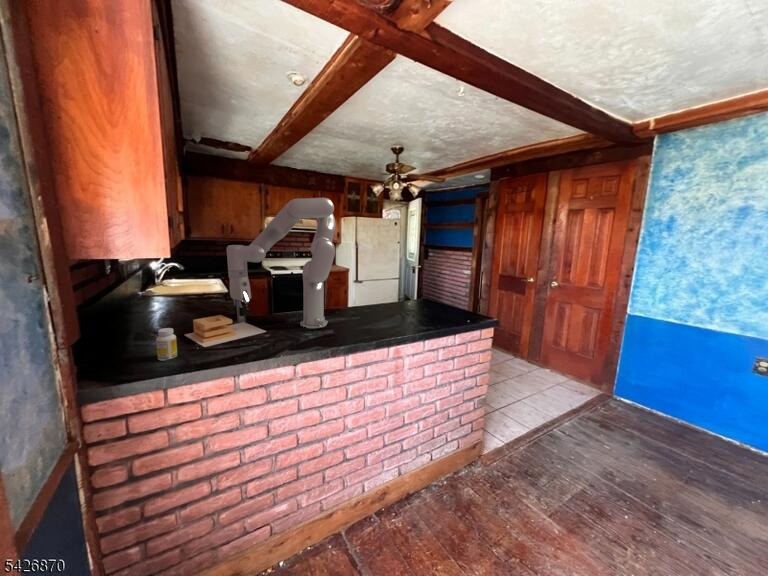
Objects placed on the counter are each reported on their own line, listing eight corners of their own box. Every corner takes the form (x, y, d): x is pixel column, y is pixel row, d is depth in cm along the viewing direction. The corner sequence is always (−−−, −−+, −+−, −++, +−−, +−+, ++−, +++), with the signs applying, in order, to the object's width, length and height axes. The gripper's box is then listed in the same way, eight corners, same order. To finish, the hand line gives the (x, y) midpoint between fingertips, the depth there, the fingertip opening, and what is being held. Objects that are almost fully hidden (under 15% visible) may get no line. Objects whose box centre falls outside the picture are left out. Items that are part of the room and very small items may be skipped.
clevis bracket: (236, 335, 131) (235, 319, 130) (203, 343, 121) (202, 326, 120) (223, 328, 139) (222, 314, 137) (191, 335, 128) (189, 320, 127)
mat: (267, 332, 138) (267, 331, 138) (204, 348, 117) (204, 347, 117) (244, 323, 150) (244, 322, 150) (183, 336, 130) (183, 334, 129)
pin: (247, 321, 138) (245, 299, 136) (240, 323, 136) (238, 300, 134) (243, 320, 140) (241, 298, 138) (236, 321, 137) (234, 299, 136)
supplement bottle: (160, 362, 104) (157, 333, 102) (155, 357, 108) (152, 329, 106) (180, 357, 108) (177, 330, 107) (174, 353, 112) (172, 326, 110)
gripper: (256, 274, 132) (259, 316, 135) (237, 271, 142) (240, 310, 145) (239, 276, 126) (242, 320, 129) (220, 272, 136) (223, 313, 139)
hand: (241, 314), depth 137 cm, fingers closed on pin, 3 cm apart
